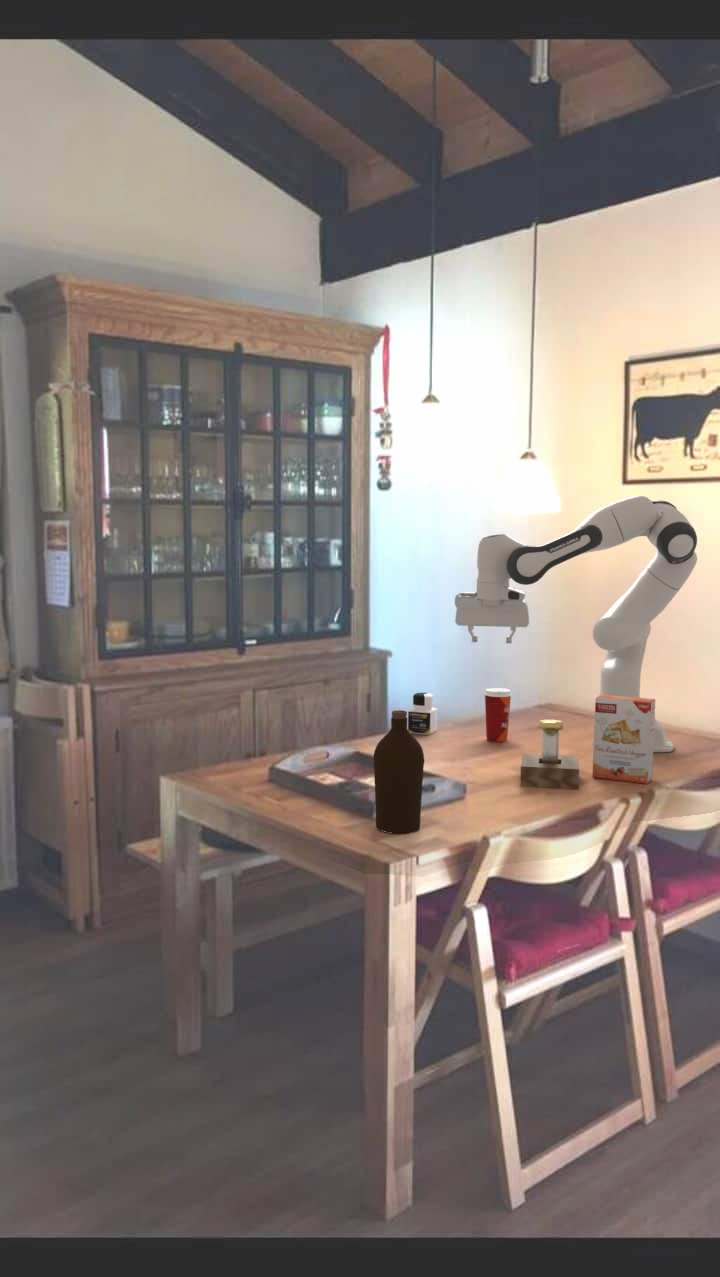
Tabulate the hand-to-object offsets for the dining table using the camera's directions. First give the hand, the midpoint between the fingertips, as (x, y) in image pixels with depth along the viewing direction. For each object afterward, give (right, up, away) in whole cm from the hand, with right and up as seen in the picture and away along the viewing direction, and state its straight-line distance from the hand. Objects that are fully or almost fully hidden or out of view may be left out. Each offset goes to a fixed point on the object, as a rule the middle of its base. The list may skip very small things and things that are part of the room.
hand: (491, 642), depth 288 cm
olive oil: (-28, -39, -67) cm, 82 cm away
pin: (+11, -35, -27) cm, 45 cm away
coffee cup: (+4, -29, +21) cm, 36 cm away
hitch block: (+11, -35, -27) cm, 45 cm away
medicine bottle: (-17, -28, +31) cm, 45 cm away
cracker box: (+30, -35, -24) cm, 52 cm away
